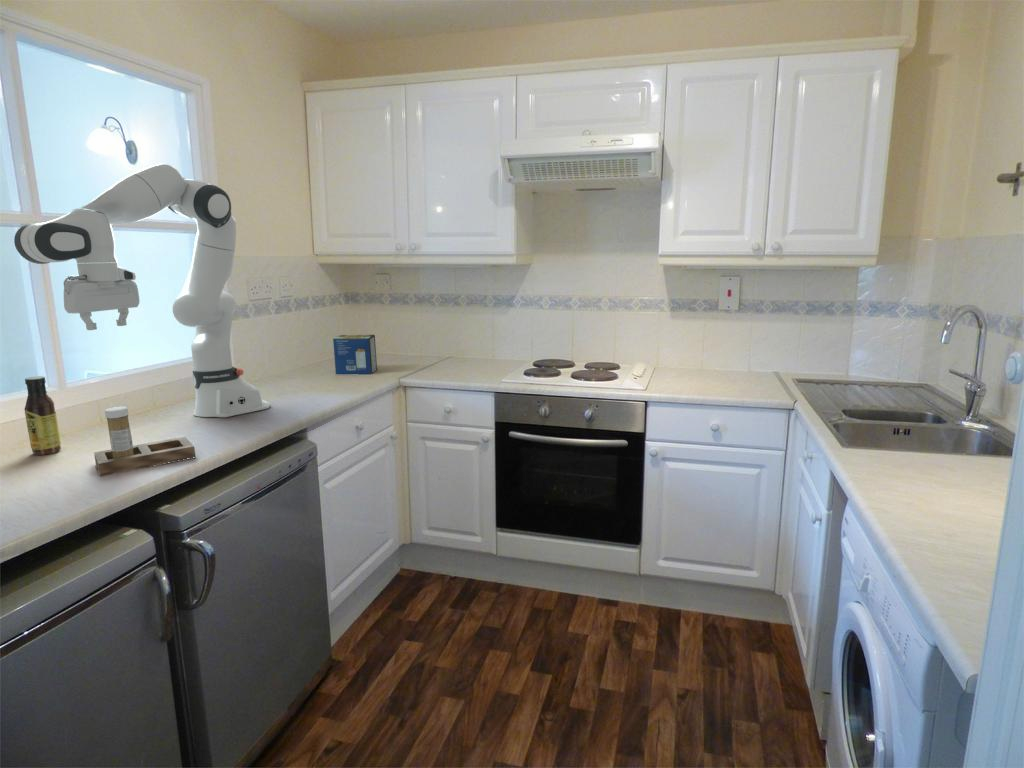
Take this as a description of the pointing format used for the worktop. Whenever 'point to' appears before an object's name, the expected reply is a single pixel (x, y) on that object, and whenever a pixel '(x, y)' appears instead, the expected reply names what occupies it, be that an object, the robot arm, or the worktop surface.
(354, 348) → the protein box
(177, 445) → the spice caddy
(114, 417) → the sprinkles bottle
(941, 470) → the worktop surface
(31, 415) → the sauce bottle
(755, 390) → the worktop surface
